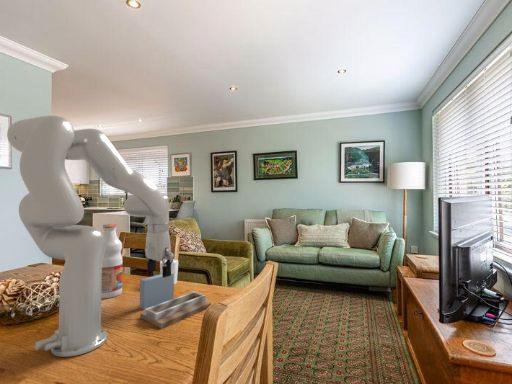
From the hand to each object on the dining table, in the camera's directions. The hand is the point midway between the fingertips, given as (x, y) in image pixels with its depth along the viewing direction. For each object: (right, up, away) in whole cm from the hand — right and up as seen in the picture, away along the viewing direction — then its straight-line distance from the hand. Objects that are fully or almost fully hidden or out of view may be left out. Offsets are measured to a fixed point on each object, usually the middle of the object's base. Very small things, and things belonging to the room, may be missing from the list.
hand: (159, 273), depth 100 cm
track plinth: (+9, -11, -8) cm, 16 cm away
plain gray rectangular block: (0, -11, -1) cm, 11 cm away
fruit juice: (-23, -11, +8) cm, 26 cm away
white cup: (-3, -11, +22) cm, 25 cm away
